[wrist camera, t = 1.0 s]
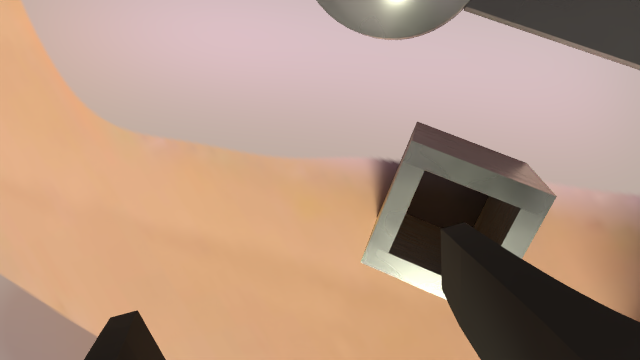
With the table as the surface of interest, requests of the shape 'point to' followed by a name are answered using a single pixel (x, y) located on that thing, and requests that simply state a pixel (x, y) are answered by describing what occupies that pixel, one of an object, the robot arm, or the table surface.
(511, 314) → the robot arm
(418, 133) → the hollow square tube
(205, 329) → the table surface
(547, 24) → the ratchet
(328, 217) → the table surface
